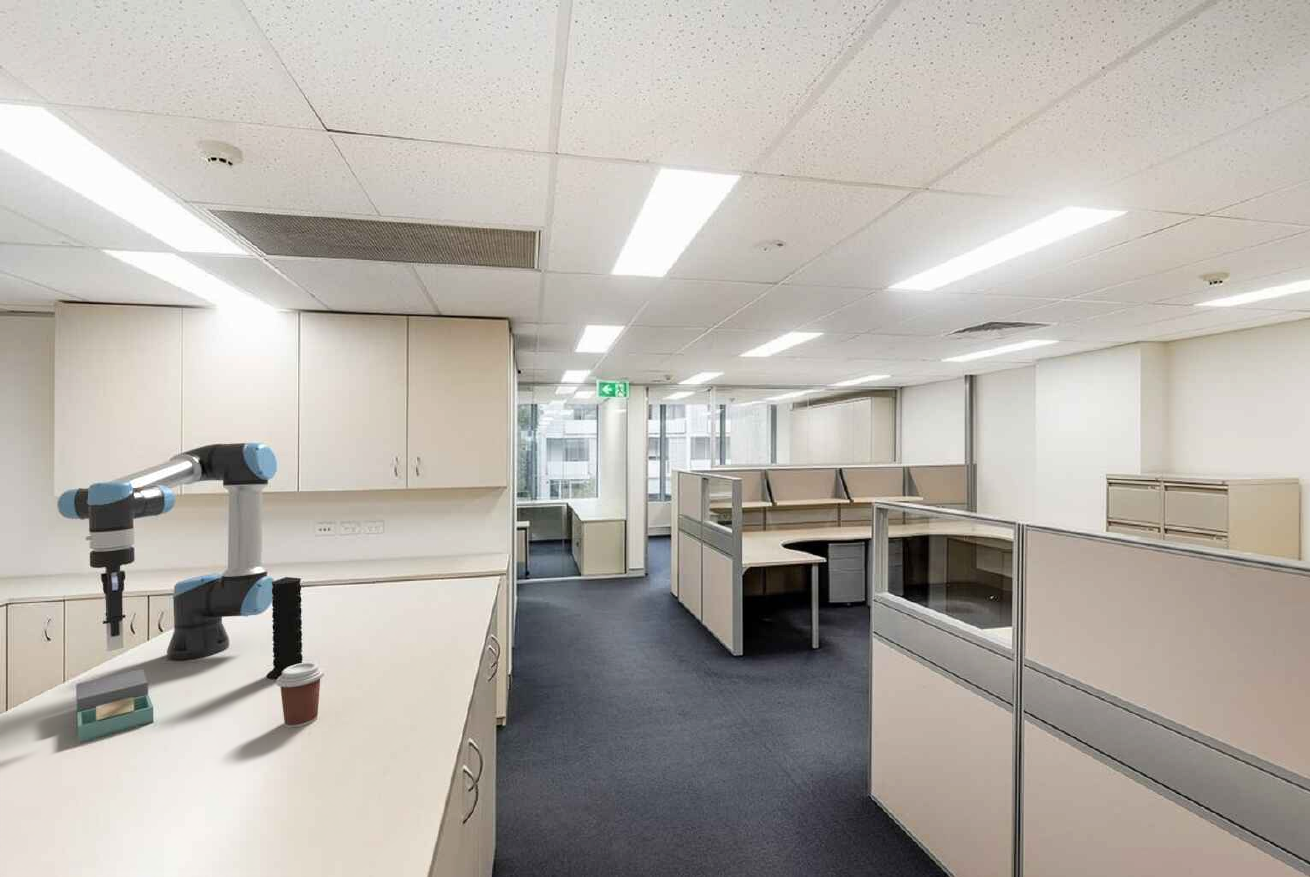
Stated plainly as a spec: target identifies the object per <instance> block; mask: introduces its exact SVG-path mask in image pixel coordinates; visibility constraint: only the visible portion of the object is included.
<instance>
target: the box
mask: <svg viewBox="0 0 1310 877" xmlns="http://www.w3.org/2000/svg"><path fill="white" fill-rule="evenodd" d="M133 699H134V711H133V712H129V713H126V714H122V715H118V716H114V717H110V718H107V719H103V720H99V721H96V708H94V709H90V710H86V711H82V712H78V725H77V739H78V744H81V743H85V742H88V741H92V740H95V738H96V739H99V738H98V737H100V738H102V737H106V735H107V736H109V734H110V735H113V734H112V733H114V734H116V733H115V732H117V733H120V732H124V731H128V730H131V728H132V729H135V728H137V727H136V726H139V727H142V726H145V725H149V724H152V723H153V724H154V705H153V702H152V700H151V698H150V695H149V694H148V695H145V696H141V697H137V698H133ZM134 727H135V728H134Z"/></svg>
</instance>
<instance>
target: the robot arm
mask: <svg viewBox="0 0 1310 877" xmlns="http://www.w3.org/2000/svg"><path fill="white" fill-rule="evenodd" d="M277 469H278V464H277V458H276V455H275V453H274V451H273V450H272V449H271V447H269V445H268V444H267V445H266V444H264V443H257V442H255V443H254V442H243V443H215V444H208V445H203V446H200V447H197V448H196V447H195V448H193V449H190V450H187V451H184V452H182V453H178V454H176V455H173V456H172V457H170V459H169V460H168V461H167V462H162V463H159V464H157V465H154V466H151V467H148V468H146V469H142V470H139V471H136V472H134V473H131V474H127V475H125V476H122V477H119V478H116V479H114V480H110V481H106V482H105V481H104V482H94V483H92V484H90V485H89V487H88V488H83V487H82V488H80V487H78V488H74V489H68V490H66V491H64V492H63V493H61V495H60V496H59V498H58V500H57V504H56V505H57V509H58V512H59V514H60V515H61V516H62V517H64V518H66V519H70V520H81V521H83V520H88V527H89V528H88V531H89V535H88V536H87V535H86V536H85V541H89V549H91V551H90V552H89V566H90V568H93V569H102V568H105V572H104V573H100V581H101V583H102V591H103V594H104V596H105V620H103V621H102V624H103V625H105V626H106V631H105V632H106V651H107V652H111V651H116V650H120V649H124V624H123V622H124V621H123V620H124V619H125V618H127V617H126V614H124V612H123V592H124V591H125V580H126V572H125V570H121V566H123V565H124V566H125V565H129V564H132V563H134V562H135V559H136V558H135V547H133V545H134V544H135V528H134V519H141V518H147V517H154V516H155V517H158V516H160V515H164V514H166V513H169V512H170V511H171V510H173V508H174V506H175V504H176V494H175V492H174V491H173V490H172V489H173V488H176V487H178V486H180V485H192V484H195V483H198V482H206V481H207V482H209V481H222V487H223V488H224V489H225V490H226V491H228V526H227V527H228V528H227V529H228V532H227V535H228V536H227V537H228V539H227V540H228V541H227V568H226V570H225V571H224V572H223V573H218V572H217V573H209V574H204V575H199V576H195V577H191V578H186V579H183V580H180V581H178V582H177V583H175V585H174V586H173V596H172V599H173V627H174V628H173V633H172V636H171V638H170V641H169V644H168V646H167V649H166V658H167V659H168V660H171V661H183V660H185V661H186V660H193V659H198V658H203V657H207V656H211V655H214V654H216V653H220V652H222V651H225V650H226V649H228V648H229V647H230V637H229V635H228V633H227V631H226V628H225V626H224V623H223V619H222V618H224V617H225V618H226V617H246V618H247V617H249V616H257V615H261V614H263V613H264V612H265V611H267V610H268V608H270V606H271V605H272V601H273V599H272V597H273V595H272V588H273V586H272V582H273V581H275V579H274V578H273V577H271V576H268V569H267V568H266V567H264V566H263V565H262V553H263V552H262V551H263V550H262V546H263V544H262V540H263V539H262V533H263V532H262V530H263V491H264V489H265V488H266V487H268V486H269V480H271V479H272V478H274V477H275V476H276V473H277Z"/></svg>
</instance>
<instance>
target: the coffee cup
mask: <svg viewBox="0 0 1310 877" xmlns="http://www.w3.org/2000/svg"><path fill="white" fill-rule="evenodd" d="M324 674H325V673H324V670H323V669H322V668H321V667H319V664H318V663H316V662H313V661H312V662H311V661H310V662H308V661H307V662H303V663H300V664H295V665H292V666H289V667H287V668H285V669H284V670H283V671H282V675H281V676H280V677H279V678H278V679H277V680H276V686H278V687H280V696H281V703H282V713H283V720H284V721H283V722H284V723H283V724H284V727H285V726H286V727H285V728H287V727H289V728H288V729H294V728H293V727H297V728H301V727H300V726H302V727H305V726H308V725H310V724H313V723H314V722H316V721H317V719H318V716H319V715H318V714H319V701H320V688H321V687H320V686H321V679H322V678H323V676H324Z"/></svg>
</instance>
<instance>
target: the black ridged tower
mask: <svg viewBox="0 0 1310 877" xmlns="http://www.w3.org/2000/svg"><path fill="white" fill-rule="evenodd" d="M301 580H302V578H300V577H292V576H290V577H289V576H285V577H282V578H280V579H276V580H274V581H273V582H272V586H273V588H272V595H273V597H272V599H273V601H272V603H271V605H272V609H271V610H272V613H271V614H272V615H271V616H272V634H273V635H272V642H273V643H272V646H273V647H272V653H273V656H272V657H273V661H272V665H273V668H272V670H270V671H268V673H267V674H266V676H265V677H266V679H268V680H276V679H278V678H279V677H280V676H281V675H282V671H283V670H284V669H285V668H287V667H289V666H292V665H295V664H300V663H304V662H303V649H302V648H303V643H302V641H303V638H302V636H303V631H302V629H303V627H302V624H303V621H302V597H301V595H302V592H301V591H302V584H301Z"/></svg>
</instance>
